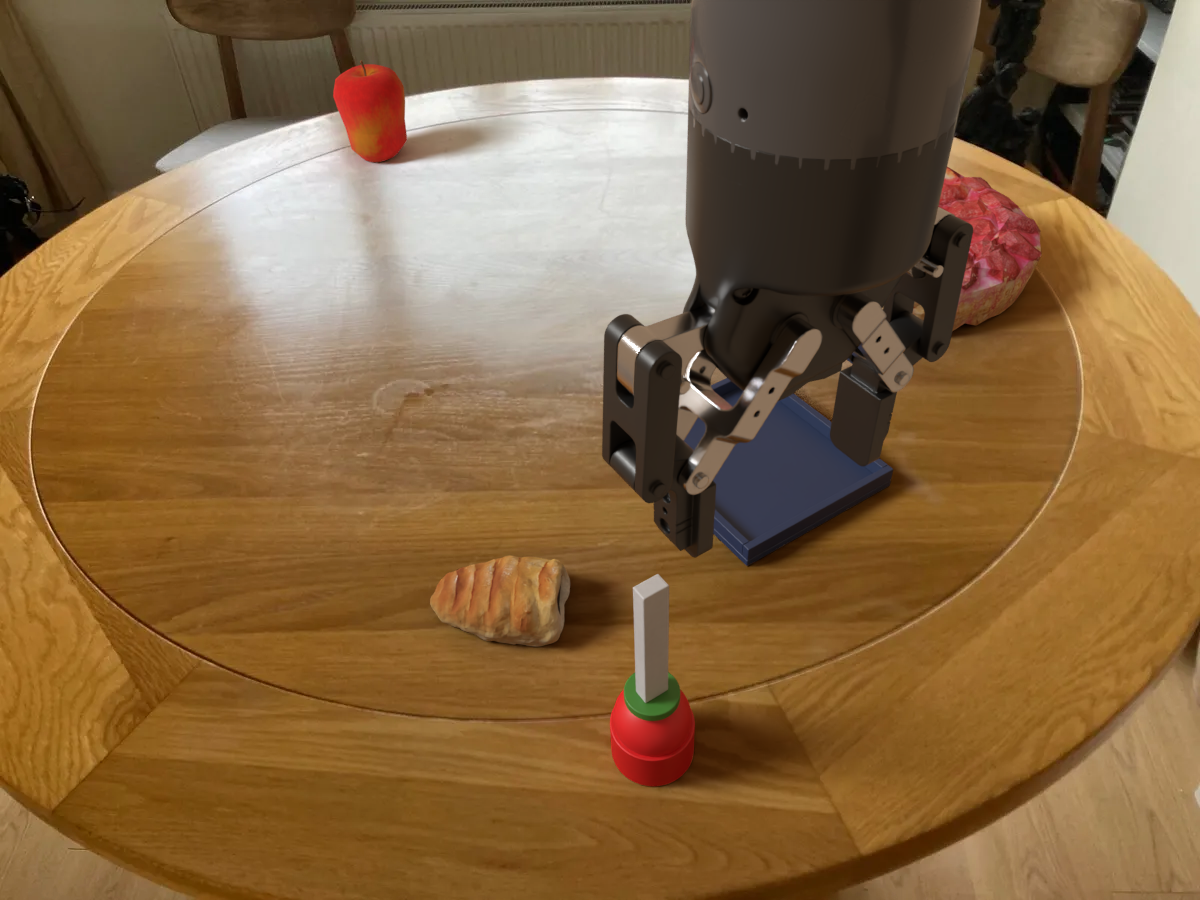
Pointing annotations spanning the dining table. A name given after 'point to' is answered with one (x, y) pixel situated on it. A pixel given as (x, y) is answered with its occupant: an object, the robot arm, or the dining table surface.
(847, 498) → the tray
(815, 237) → the robot arm
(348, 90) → the apple
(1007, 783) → the dining table surface
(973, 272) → the cake
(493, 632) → the pastry
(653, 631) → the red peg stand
